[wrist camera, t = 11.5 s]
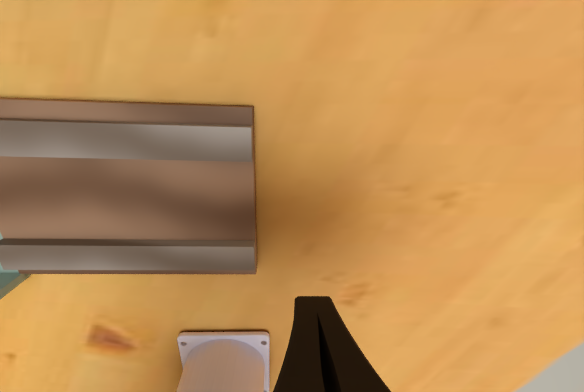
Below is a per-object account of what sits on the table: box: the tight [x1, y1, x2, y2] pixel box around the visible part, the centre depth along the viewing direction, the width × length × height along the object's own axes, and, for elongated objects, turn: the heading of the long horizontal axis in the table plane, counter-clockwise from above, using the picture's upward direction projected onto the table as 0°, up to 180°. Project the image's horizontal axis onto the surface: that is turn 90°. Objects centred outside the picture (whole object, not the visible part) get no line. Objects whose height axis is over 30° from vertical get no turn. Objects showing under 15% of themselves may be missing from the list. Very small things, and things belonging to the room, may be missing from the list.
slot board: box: [0, 98, 257, 274], centre depth 17 cm, size 12×17×2 cm
